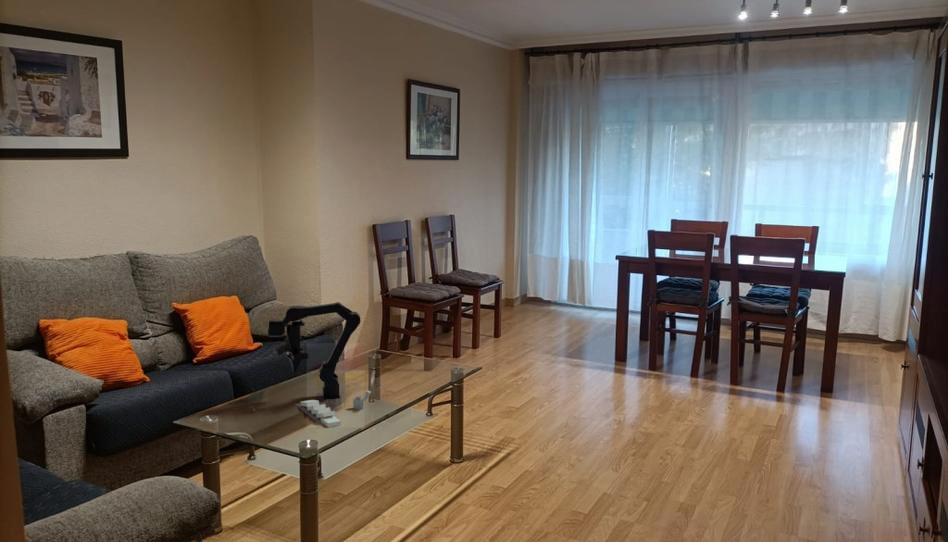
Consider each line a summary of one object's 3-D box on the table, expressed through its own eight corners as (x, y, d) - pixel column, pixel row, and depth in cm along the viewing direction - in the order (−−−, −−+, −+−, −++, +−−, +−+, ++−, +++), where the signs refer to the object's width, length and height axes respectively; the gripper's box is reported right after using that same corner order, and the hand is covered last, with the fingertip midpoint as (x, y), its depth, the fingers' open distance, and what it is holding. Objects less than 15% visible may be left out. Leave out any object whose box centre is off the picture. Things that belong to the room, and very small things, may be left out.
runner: (294, 404, 295) (294, 403, 295) (312, 401, 299) (312, 400, 299) (319, 425, 270) (319, 424, 270) (339, 421, 274) (339, 420, 274)
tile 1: (306, 406, 286) (313, 405, 279) (318, 404, 289) (325, 403, 282) (307, 410, 286) (313, 409, 279) (319, 408, 288) (325, 407, 282)
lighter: (353, 409, 289) (353, 390, 288) (354, 408, 291) (354, 389, 290) (370, 410, 288) (369, 391, 287) (371, 409, 290) (371, 390, 289)
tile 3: (315, 413, 277) (322, 412, 271) (328, 411, 280) (335, 410, 273) (316, 418, 277) (323, 416, 270) (328, 415, 280) (335, 414, 273)
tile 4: (320, 417, 273) (328, 423, 266) (332, 415, 276) (340, 421, 269) (320, 421, 273) (328, 427, 266) (332, 419, 276) (340, 425, 269)
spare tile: (300, 401, 292) (306, 402, 286) (312, 399, 295) (318, 400, 288) (300, 405, 292) (307, 406, 286) (312, 403, 295) (319, 404, 288)
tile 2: (311, 410, 282) (317, 409, 275) (323, 408, 284) (330, 407, 278) (311, 414, 281) (318, 413, 275) (323, 412, 284) (330, 411, 278)
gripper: (268, 333, 302) (269, 369, 304) (281, 342, 287) (282, 379, 288) (293, 331, 308) (294, 366, 310) (308, 339, 293) (309, 376, 294)
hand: (294, 371), depth 301 cm, fingers closed
